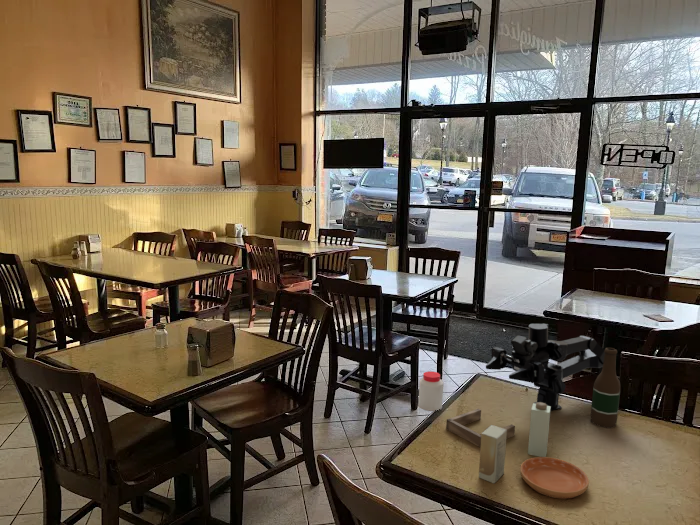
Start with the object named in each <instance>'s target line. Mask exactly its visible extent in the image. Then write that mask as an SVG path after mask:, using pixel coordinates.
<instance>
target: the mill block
mask: <svg viewBox="0 0 700 525" xmlns="http://www.w3.org/2000/svg"><path fill="white" fill-rule="evenodd" d="M536 402H537V401H536ZM550 409H551V406H547V404H545V403H542V402H537V403H536V404H535V403H534V402H533V403H532V406H531V410H530V422H529V423H530V424H529V433H528V434H529V436H528V448H527V455H531V456H535V457H547V451H548V442H549V431H550V419H551V418H550V417H551V411H550Z"/></svg>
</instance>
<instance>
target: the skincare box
mask: <svg viewBox="0 0 700 525" xmlns="http://www.w3.org/2000/svg"><path fill="white" fill-rule="evenodd" d="M503 428H504V427H501V426H496V425H494V424H493V425H492V424H490V425H489V426H488V427H487V428H486V429H484V431H482V432H481V433H480V435H481V448H480V453H479V469H478V478H479V479H482V480H484V481H487V482H489V483H491V484H495V483H496V482H497V481H498V480H499V479H500V478H501V477H502V476H503V474H504V473H505V462H506V448H507V439H506V435H507V430H506V429H503Z"/></svg>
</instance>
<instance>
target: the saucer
mask: <svg viewBox="0 0 700 525" xmlns="http://www.w3.org/2000/svg"><path fill="white" fill-rule="evenodd" d="M519 470H520V475H521V476H520V477H521V478H522V479H523V480H524V482H525V483H526V484H527V485H528V486H529V487H530V488H531V489H533V490H534V491H536V492H537V493H540V494H541V495H544V496H547V497H550V498H554V499H559V500H560V499H561V500H563V499H566V500H567V499H573V498H575V497H578V496H580V495H583V494H584V493H585V492H586V491H587V490H588V488H589V484H590V480H589V477H588V475H587V474H586V473H585V471H583V469H581V468H580V467H579V466H577V465H575V464H573V463H570V462H568V461H566V460H562V459H561V458H560V459H559V458H555V457H549V456H548V457H547V456H546V457H539V456H535V457H531V458H528V459H526V460H524V461H523V462H522V463H521V464H520V468H519Z"/></svg>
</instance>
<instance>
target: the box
mask: <svg viewBox="0 0 700 525" xmlns="http://www.w3.org/2000/svg"><path fill="white" fill-rule="evenodd" d="M481 416H482V409H480V408H476V409H473V410H470V411H467V412H465V413H462V414H458V415H456V416H453V417H450V418H447V419H446V424H445V425H446V426H445V430H447V431H449V432H451V433H452V434H455V435H457V436H458V437H460V438H462V439H464V440H465V441H468V442H470V443H471V444H473V445H475V446H477V447H478V448H480V449H481V433H478V432H476V431H474V430H472V429H471V428H469V427H467V426H466V425H468V424H471V423H473V422H476V421H479V420H481V419H482V418H481ZM502 428H503V429H506V430H507V435H506V440H507V439H509V438H513V436H515V432H516V430H515V429H516V426H515V425H514V424H510V425H507V426H504V427H502Z"/></svg>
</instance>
